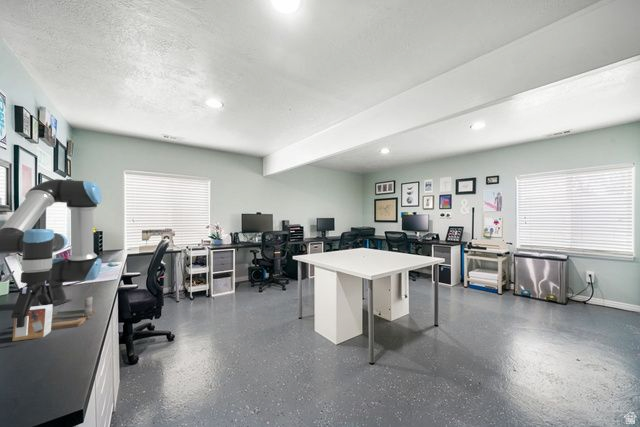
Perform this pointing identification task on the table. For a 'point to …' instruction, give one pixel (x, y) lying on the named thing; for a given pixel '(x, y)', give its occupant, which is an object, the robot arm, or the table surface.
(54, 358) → the table surface
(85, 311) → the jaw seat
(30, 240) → the robot arm
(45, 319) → the small box
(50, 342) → the table surface
